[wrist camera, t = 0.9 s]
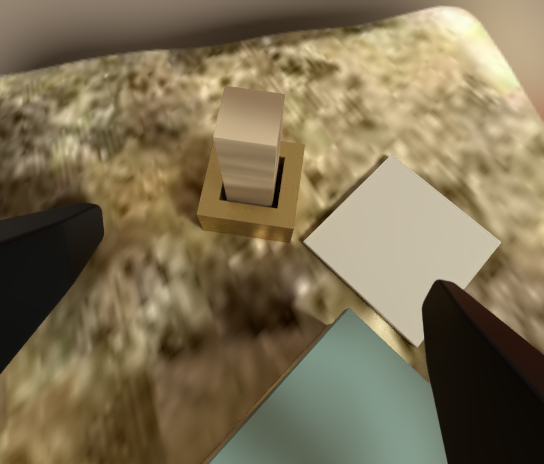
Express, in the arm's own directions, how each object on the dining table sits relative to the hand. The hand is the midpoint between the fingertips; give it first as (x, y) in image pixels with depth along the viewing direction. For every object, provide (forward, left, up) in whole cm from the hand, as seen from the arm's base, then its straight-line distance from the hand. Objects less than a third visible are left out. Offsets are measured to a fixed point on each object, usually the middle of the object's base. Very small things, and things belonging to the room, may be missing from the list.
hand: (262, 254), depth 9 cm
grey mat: (+10, -4, -15) cm, 18 cm away
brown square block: (+5, +6, -15) cm, 17 cm away
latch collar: (+5, +6, -15) cm, 17 cm away
